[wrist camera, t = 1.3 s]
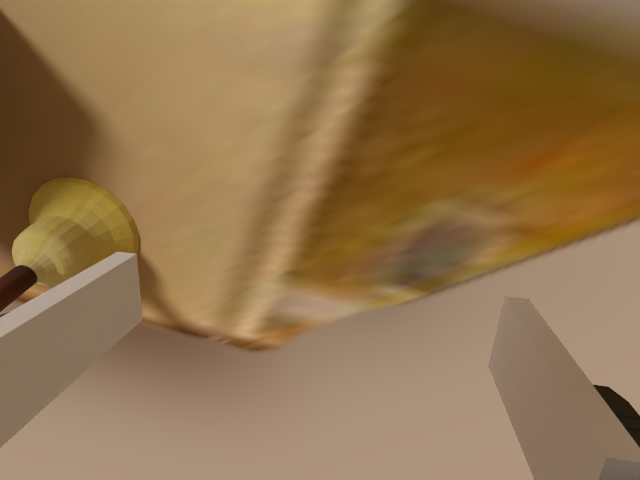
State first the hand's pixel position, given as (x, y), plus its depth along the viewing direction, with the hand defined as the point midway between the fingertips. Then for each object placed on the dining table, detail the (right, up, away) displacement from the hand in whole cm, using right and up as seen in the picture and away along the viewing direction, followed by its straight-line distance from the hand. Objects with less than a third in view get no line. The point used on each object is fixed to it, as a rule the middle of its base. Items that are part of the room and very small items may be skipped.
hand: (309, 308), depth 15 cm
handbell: (-26, +4, +31) cm, 41 cm away
